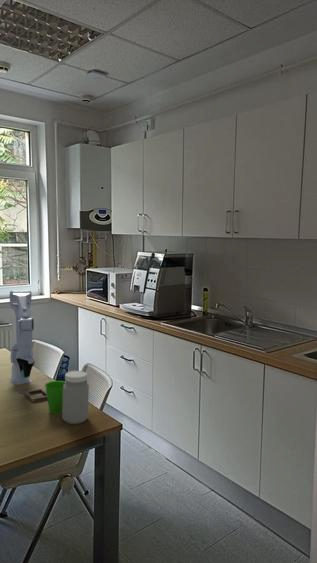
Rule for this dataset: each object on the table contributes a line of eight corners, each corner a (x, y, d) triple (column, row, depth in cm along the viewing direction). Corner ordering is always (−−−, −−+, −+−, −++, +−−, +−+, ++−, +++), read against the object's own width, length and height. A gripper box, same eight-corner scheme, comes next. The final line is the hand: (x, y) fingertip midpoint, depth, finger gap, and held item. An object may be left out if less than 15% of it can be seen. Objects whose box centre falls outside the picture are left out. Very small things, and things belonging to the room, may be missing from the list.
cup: (70, 407, 169) (71, 381, 168) (63, 416, 160) (63, 389, 159) (49, 405, 170) (49, 379, 169) (40, 414, 161) (41, 387, 160)
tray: (24, 395, 179) (24, 391, 179) (42, 392, 184) (42, 388, 184) (32, 403, 171) (32, 399, 171) (51, 399, 176) (51, 395, 176)
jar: (60, 415, 161) (61, 370, 159) (85, 413, 164) (86, 369, 162) (64, 426, 152) (65, 379, 150) (90, 423, 155) (91, 377, 153)
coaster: (17, 391, 183) (17, 391, 183) (28, 389, 186) (28, 388, 186) (21, 395, 179) (21, 394, 179) (32, 393, 182) (32, 392, 182)
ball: (19, 376, 183) (19, 368, 182) (27, 375, 185) (28, 366, 184) (22, 379, 179) (22, 371, 179) (31, 378, 182) (31, 369, 181)
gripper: (10, 342, 184) (10, 372, 185) (22, 350, 172) (21, 381, 174) (26, 340, 188) (26, 369, 190) (38, 348, 177) (38, 378, 178)
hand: (25, 375), depth 182 cm, fingers closed on ball, 4 cm apart
